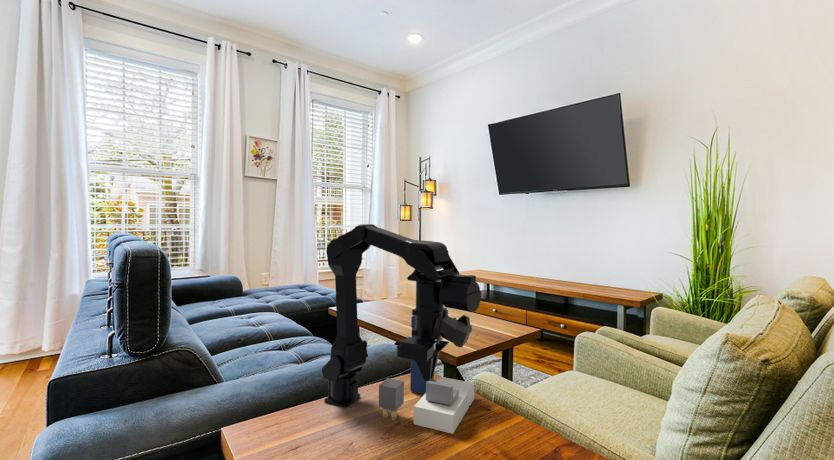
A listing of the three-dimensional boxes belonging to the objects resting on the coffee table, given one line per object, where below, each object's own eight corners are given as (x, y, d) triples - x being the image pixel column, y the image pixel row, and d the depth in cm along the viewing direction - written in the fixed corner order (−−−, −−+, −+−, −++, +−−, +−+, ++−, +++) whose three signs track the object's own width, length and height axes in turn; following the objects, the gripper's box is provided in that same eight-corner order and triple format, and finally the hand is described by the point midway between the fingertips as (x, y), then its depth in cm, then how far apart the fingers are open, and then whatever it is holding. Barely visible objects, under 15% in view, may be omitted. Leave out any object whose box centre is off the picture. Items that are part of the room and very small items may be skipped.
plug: (378, 418, 87) (378, 385, 87) (387, 409, 91) (387, 377, 91) (395, 422, 86) (395, 388, 85) (403, 413, 90) (403, 381, 89)
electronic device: (429, 394, 99) (430, 317, 98) (409, 392, 100) (410, 315, 99) (434, 379, 109) (436, 308, 108) (416, 377, 110) (417, 307, 109)
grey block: (425, 399, 87) (426, 382, 87) (434, 389, 93) (434, 373, 92) (451, 405, 85) (451, 387, 85) (458, 394, 90) (459, 377, 90)
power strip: (413, 424, 85) (413, 406, 85) (440, 391, 101) (440, 376, 101) (452, 433, 82) (453, 415, 82) (474, 398, 97) (474, 383, 97)
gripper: (453, 319, 68) (451, 407, 68) (479, 299, 85) (478, 369, 86) (395, 312, 72) (394, 395, 73) (432, 294, 89) (431, 361, 90)
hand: (428, 379), depth 80 cm, fingers closed
